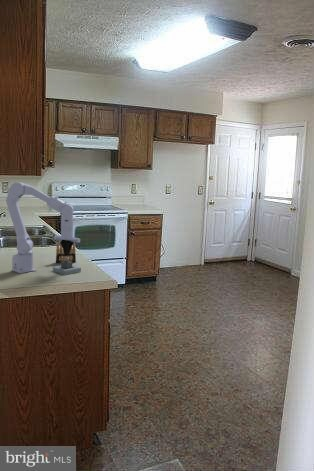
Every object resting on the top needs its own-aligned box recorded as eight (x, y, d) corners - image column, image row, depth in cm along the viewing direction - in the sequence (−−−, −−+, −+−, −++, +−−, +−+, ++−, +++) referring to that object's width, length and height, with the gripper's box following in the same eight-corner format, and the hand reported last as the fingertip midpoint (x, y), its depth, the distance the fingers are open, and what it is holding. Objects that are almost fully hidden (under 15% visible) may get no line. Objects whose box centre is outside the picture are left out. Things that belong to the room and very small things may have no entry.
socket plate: (64, 274, 202) (64, 270, 202) (52, 270, 209) (52, 266, 208) (80, 271, 210) (81, 267, 209) (69, 267, 216) (69, 264, 216)
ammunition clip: (75, 261, 231) (75, 240, 229) (75, 262, 229) (76, 241, 227) (55, 262, 226) (55, 241, 225) (56, 263, 225) (56, 241, 223)
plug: (67, 272, 206) (67, 259, 205) (60, 271, 208) (61, 258, 207) (72, 271, 210) (72, 257, 209) (65, 270, 212) (66, 256, 210)
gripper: (50, 227, 205) (50, 254, 207) (74, 230, 199) (74, 258, 201) (59, 226, 211) (59, 252, 213) (82, 229, 205) (82, 255, 208)
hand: (66, 255), depth 208 cm, fingers closed
